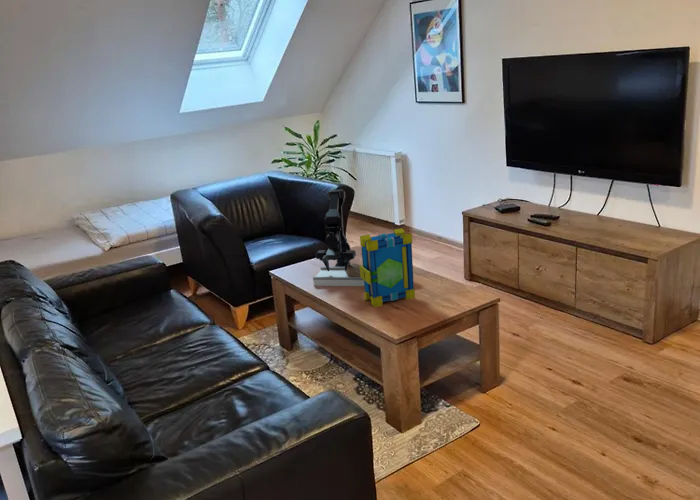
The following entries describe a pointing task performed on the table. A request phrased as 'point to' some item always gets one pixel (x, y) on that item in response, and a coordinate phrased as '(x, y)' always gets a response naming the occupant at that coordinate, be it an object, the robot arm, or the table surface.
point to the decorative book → (387, 267)
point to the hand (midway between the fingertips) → (337, 271)
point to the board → (336, 278)
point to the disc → (353, 270)
